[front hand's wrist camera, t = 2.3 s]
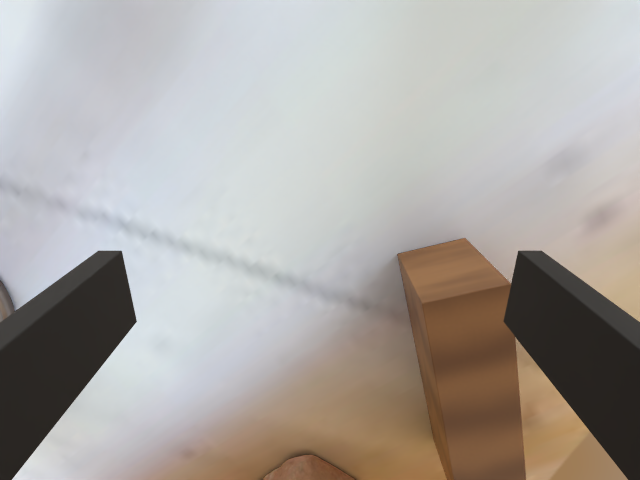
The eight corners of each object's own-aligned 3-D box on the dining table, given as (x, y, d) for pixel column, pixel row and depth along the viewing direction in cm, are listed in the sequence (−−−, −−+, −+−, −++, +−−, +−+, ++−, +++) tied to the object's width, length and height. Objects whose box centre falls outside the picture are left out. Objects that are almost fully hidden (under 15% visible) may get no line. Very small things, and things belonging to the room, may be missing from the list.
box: (488, 430, 42) (528, 509, 34) (434, 441, 43) (461, 521, 35) (465, 237, 33) (511, 283, 26) (397, 253, 34) (421, 303, 26)
